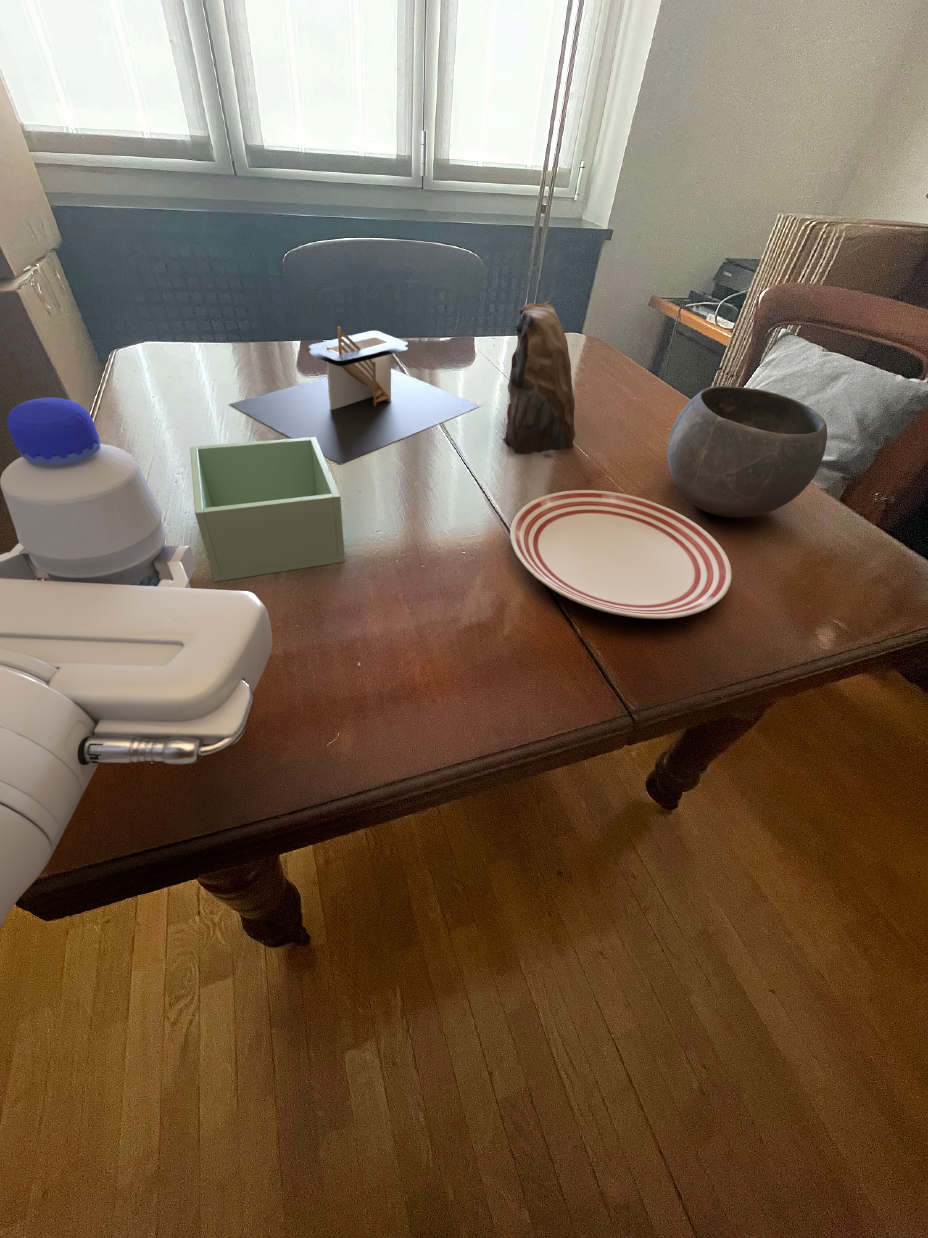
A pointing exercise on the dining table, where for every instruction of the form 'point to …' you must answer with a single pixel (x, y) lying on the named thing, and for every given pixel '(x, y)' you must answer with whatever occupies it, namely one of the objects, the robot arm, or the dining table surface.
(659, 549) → the dinner plate
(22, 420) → the bottle
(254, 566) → the open storage bin
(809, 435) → the bowl
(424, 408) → the architectural model
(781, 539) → the dining table surface
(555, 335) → the brown carved statue
